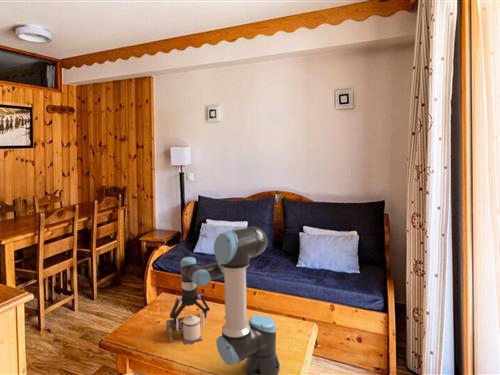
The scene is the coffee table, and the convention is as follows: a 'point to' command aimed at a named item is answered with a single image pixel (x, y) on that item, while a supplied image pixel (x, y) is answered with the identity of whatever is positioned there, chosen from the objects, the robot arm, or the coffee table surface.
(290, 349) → the coffee table surface
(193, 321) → the teacup with lid
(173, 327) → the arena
